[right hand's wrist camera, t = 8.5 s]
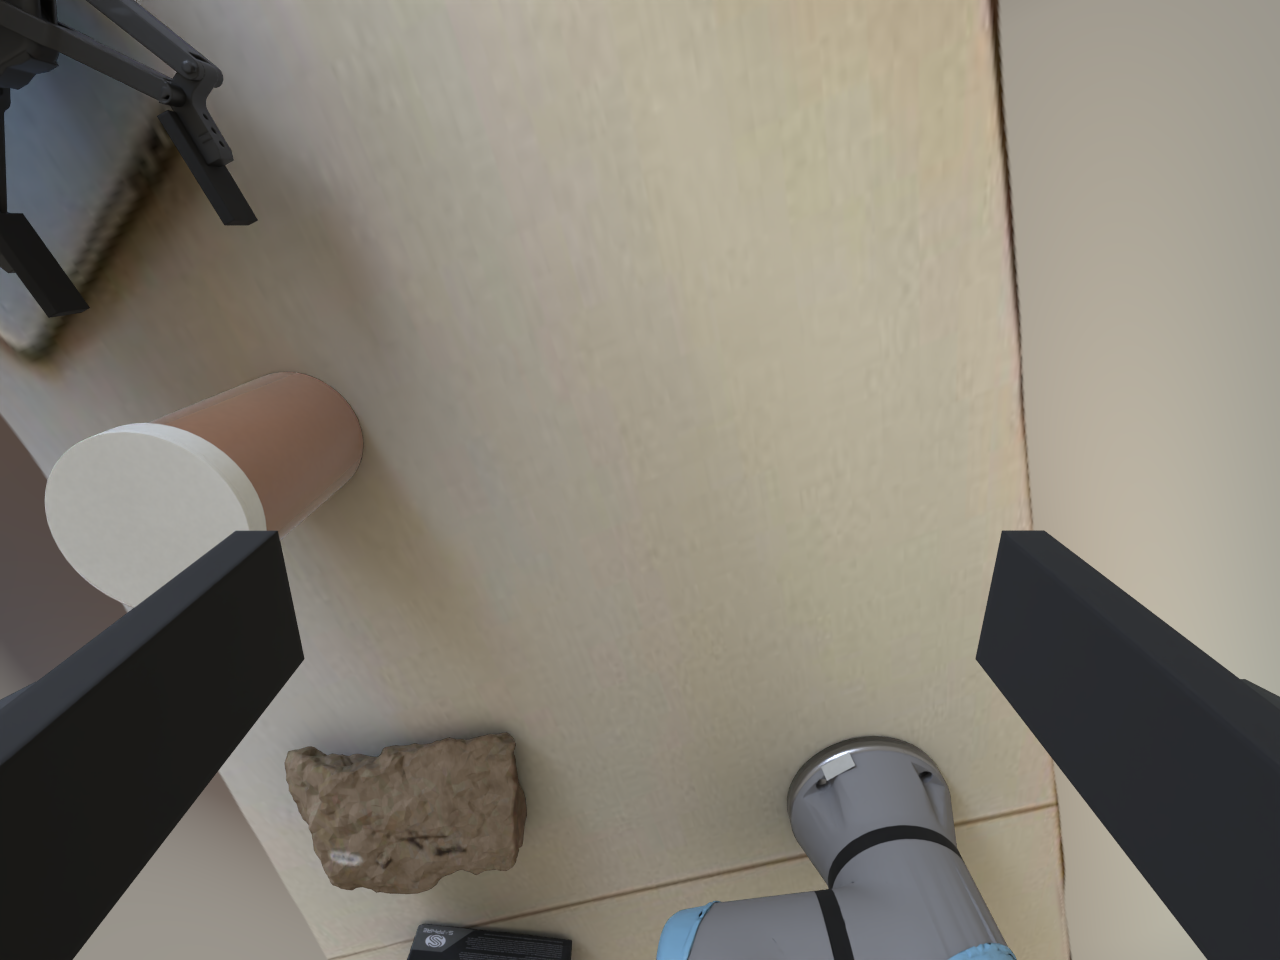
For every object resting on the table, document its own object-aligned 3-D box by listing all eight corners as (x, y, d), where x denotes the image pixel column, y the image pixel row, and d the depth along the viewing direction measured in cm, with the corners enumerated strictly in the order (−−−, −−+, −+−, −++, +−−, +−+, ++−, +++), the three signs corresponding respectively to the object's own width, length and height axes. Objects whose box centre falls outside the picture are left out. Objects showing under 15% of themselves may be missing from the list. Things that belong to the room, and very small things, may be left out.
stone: (314, 881, 66) (292, 928, 60) (292, 738, 64) (267, 772, 59) (531, 844, 69) (531, 885, 63) (516, 706, 67) (514, 736, 61)
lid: (290, 590, 41) (275, 605, 39) (112, 607, 41) (91, 622, 40) (232, 412, 37) (213, 421, 36) (37, 433, 38) (10, 442, 36)
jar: (377, 489, 56) (271, 596, 40) (254, 501, 56) (100, 612, 40) (344, 364, 52) (214, 427, 36) (214, 378, 52) (27, 446, 36)
